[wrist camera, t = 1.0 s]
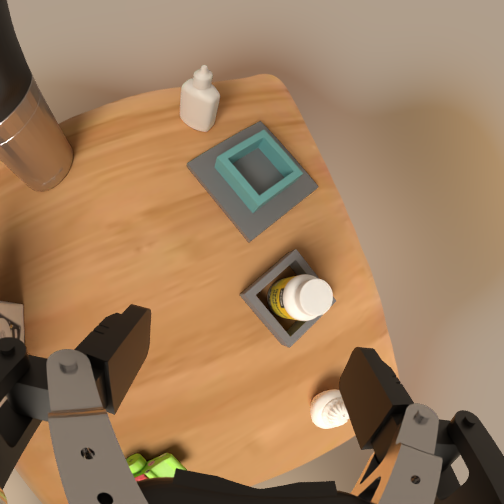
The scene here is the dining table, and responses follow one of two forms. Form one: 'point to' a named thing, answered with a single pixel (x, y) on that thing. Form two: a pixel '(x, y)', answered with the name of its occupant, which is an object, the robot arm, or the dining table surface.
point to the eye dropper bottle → (199, 100)
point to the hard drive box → (11, 323)
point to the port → (252, 179)
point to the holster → (262, 312)
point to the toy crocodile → (153, 466)
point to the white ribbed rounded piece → (328, 409)
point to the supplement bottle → (300, 297)
